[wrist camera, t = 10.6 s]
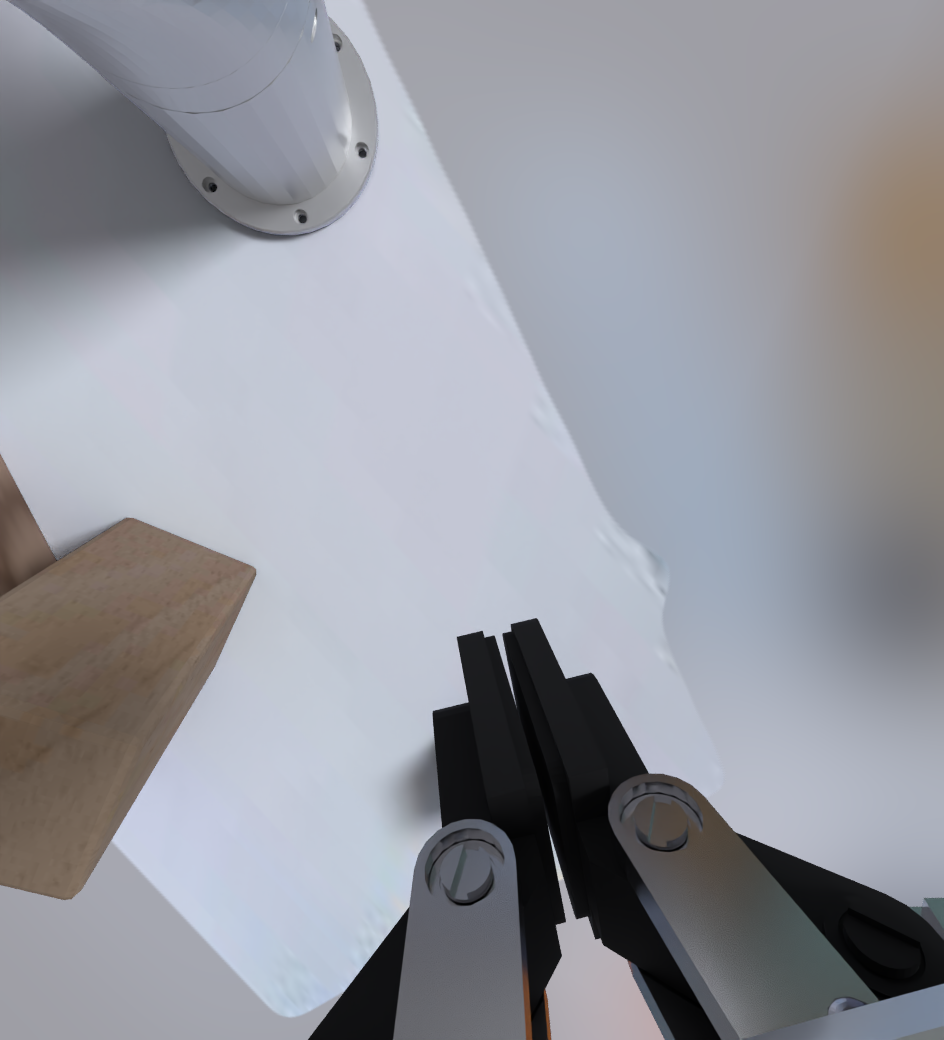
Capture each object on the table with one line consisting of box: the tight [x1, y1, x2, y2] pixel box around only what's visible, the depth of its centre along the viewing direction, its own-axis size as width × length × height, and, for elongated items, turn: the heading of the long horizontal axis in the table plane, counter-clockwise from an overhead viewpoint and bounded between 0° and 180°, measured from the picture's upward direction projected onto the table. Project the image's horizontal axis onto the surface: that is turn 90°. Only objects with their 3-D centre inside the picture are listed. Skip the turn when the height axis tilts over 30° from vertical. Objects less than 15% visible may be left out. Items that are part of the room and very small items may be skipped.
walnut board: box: [0, 455, 57, 597], centre depth 38 cm, size 28×2×8 cm, turn 13°
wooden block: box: [0, 518, 256, 900], centre depth 33 cm, size 10×10×20 cm
